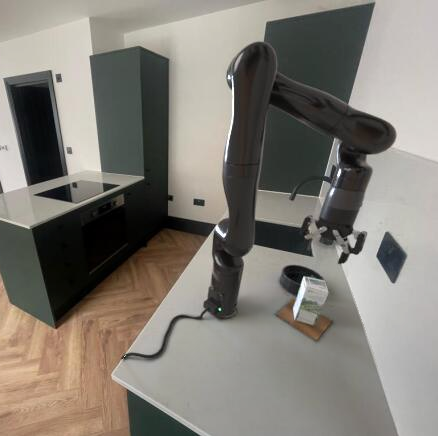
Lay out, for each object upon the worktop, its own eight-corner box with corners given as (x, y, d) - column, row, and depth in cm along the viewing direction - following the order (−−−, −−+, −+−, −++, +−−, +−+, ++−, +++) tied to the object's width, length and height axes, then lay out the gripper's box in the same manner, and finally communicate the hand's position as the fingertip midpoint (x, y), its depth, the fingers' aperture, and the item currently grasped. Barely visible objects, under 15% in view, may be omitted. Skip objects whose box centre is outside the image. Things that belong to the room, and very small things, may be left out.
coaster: (316, 341, 68) (316, 340, 68) (276, 315, 77) (276, 314, 77) (332, 321, 75) (332, 320, 74) (293, 299, 84) (293, 299, 83)
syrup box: (312, 313, 77) (325, 279, 71) (315, 327, 72) (329, 291, 66) (292, 308, 79) (303, 274, 73) (294, 321, 75) (306, 286, 69)
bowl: (310, 305, 81) (314, 293, 79) (272, 284, 91) (275, 273, 89) (326, 289, 88) (330, 277, 86) (289, 271, 98) (292, 260, 96)
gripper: (305, 199, 63) (290, 249, 70) (373, 216, 53) (348, 273, 59) (317, 194, 67) (302, 242, 74) (382, 208, 57) (357, 263, 63)
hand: (322, 256), depth 67 cm, fingers open, 8 cm apart
